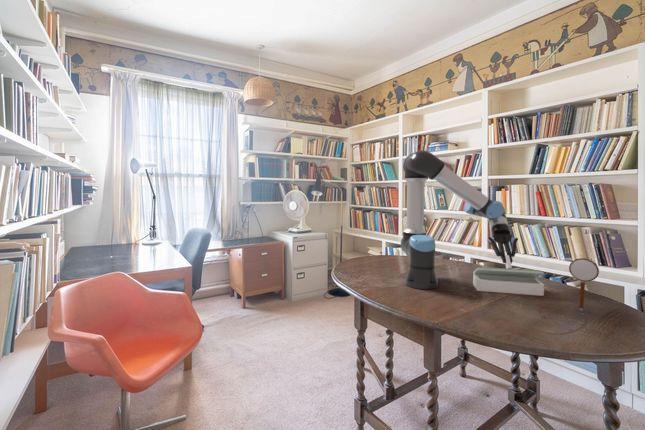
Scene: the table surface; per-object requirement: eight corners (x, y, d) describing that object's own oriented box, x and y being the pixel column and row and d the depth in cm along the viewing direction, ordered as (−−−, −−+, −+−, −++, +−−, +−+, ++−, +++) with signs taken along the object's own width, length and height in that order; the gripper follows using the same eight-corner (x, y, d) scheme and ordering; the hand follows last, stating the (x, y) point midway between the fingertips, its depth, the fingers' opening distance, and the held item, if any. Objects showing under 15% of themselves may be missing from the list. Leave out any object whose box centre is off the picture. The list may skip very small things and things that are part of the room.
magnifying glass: (596, 313, 114) (600, 260, 113) (595, 314, 113) (599, 260, 112) (567, 306, 121) (570, 256, 119) (566, 307, 120) (569, 256, 118)
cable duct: (477, 290, 141) (477, 279, 140) (473, 284, 150) (473, 274, 150) (543, 295, 133) (544, 284, 133) (534, 288, 143) (535, 278, 142)
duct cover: (477, 269, 141) (477, 266, 141) (473, 274, 150) (473, 271, 150) (543, 273, 134) (543, 270, 134) (535, 277, 142) (535, 274, 143)
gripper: (512, 232, 155) (523, 273, 140) (484, 232, 159) (491, 272, 144) (516, 223, 150) (528, 265, 135) (486, 222, 153) (494, 263, 138)
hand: (509, 268), depth 139 cm, fingers closed
